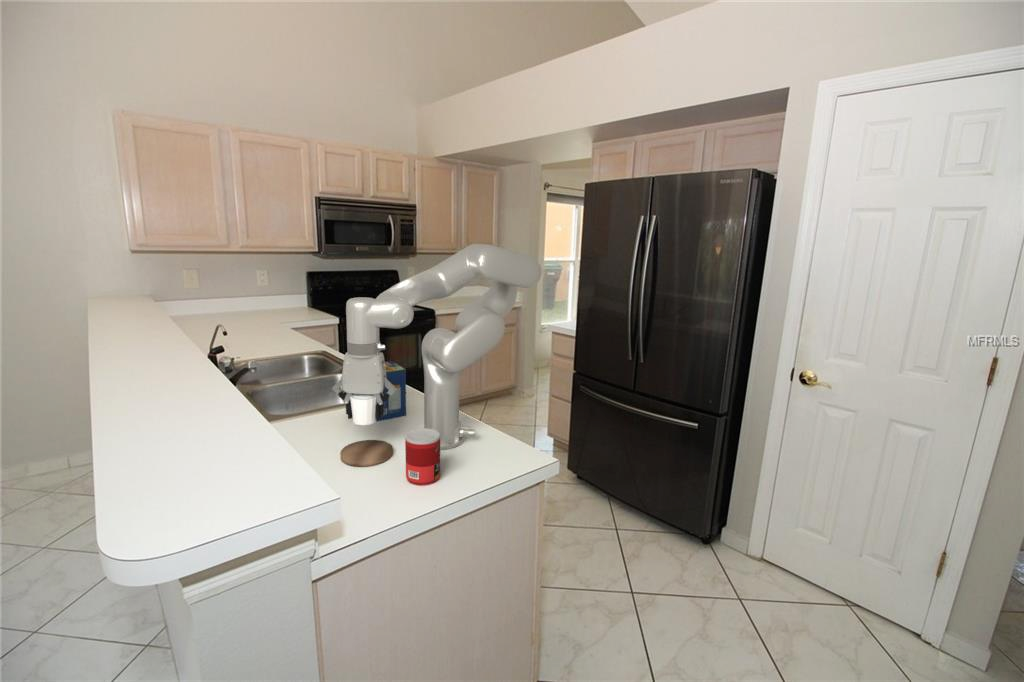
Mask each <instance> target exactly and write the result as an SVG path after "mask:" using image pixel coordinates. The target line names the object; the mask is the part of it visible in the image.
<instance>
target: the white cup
mask: <svg viewBox="0 0 1024 682" xmlns="http://www.w3.org/2000/svg"><path fill="white" fill-rule="evenodd" d="M350 400H351V408H352V416H353V419H352V422H353V424H355V425H357V426H368V425H373V424H375V423H377V422H376V404H377V400H376V397H375V396H374V394H352V396H350Z"/></svg>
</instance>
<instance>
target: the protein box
mask: <svg viewBox="0 0 1024 682" xmlns="http://www.w3.org/2000/svg"><path fill="white" fill-rule="evenodd" d="M385 368H386V378H387V380H388V381H389V382H390V383H391V384H392V385H393V386H394V387H396V391H395V392H394V393H393V394H392V395H391V396H390V397H389V398H388V399H387V400H386V401H385V402H384V403H383V405H384V413H383V415H381V417H380V419H379V420H377V419H376V422H375V423H377V422H382V421H386V420H392V419H398V418H401V417H402V418H403V417H406V416H407V380H406V379H407V378H406V376H407V372H406V371H407V369H406V368H404V367H403V366H401V365H399V364H397V363H396V362H394V361H393V360H388V361H385ZM388 391H389V390H388V389H387V388H385V389H383V392H382V393H383V395H384V394H385V393H387V392H388ZM351 419H352V420H353V417H352V418H351Z"/></svg>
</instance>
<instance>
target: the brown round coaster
mask: <svg viewBox="0 0 1024 682" xmlns="http://www.w3.org/2000/svg"><path fill="white" fill-rule="evenodd" d="M339 454H340V461H341V462H342V463H343V464H344V465H347V466H350V467H354V468H370V467H374V466H378V465H382V464H383V463H386V462H387V461H389V460H390V459H392V457H393V456H394V448H393V445H392V444H391V443H389V442H387V441H384V440H379V439H365V440H359V441H354V442H352V443H349V444H347V445H345V446H344V447H343V448H342V449H341V451H340V453H339Z"/></svg>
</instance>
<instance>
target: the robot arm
mask: <svg viewBox="0 0 1024 682" xmlns="http://www.w3.org/2000/svg"><path fill="white" fill-rule="evenodd" d="M542 274H543V273H542V266H541V264H540V262H539V261H538V260H537V259H536V258H535V257H532V256H529V255H527V254H524V253H519V252H515V251H512V250H509V249H505V248H503V247H499V246H496V245H493V244H484V243H473V244H470V245H468V246H466V247H464V248H462V249H460V250H459V251H458V252H456V253H454V254H453V255H451V256H450V257H448V258H446V259H444V260H442V261H441V262H439V263H437V264H436V265H434V266H432V267H431V268H429V269H426V270H424V271H421V272H420V273H418V274H414V275H413V276H409V277H408V278H406V279H403V280H401V281H400V282H398V283H395V284H394V285H392V286H391V287H389V288H388V289H386V290H384V291H383V292H381V293H379V295H378V296H377V297H376V298H373V297H366V296H365V297H363V296H362V297H360V296H359V297H353V298H352V297H351V298H349V299H348V300H347V301H346V303H345V304H346V306H345V315H346V347H347V348H346V349H347V352H345V354H344V357H343V363H342V372H341V373H342V374H341V375H342V376H341V378H340V380H339V381H337V382H336V383H335V384H334V385H333V386H332V388H331V390H332V391H333V392H334V393H336V395H338V397H339V398H340V399H341V400H342V401H343V403H344V404H345V414H346V415H347V419H348V420H351V419H352V417H353V416H352V408H351V400H350V396H352V394H374V396H375V397H376V400H377V404H376V419H377V420H379V419H380V417H381V415H383V413H384V405H383V403H384V402H385V401H386V400H387V399H388V398H389V397H390V396H391V395H392V394H393V393H394V392H395V391H396V387H394V386H393V385H392V384H391V383H390V382H389V381H388V380H387V378H386V368H385V362H386V361H385V355H384V353H383V352H382V351H386V344H383V343H381V341H380V328H383V329H384V328H386V329H394V330H395V329H397V330H398V329H402V328H405V327H407V326H409V325H410V324H411V323H412V321H413V319H414V315H415V314H414V313H415V312H414V308H413V307H415V306H416V305H418V304H421V303H423V302H427V301H431V300H432V301H433V300H440V299H441V300H442V299H444V298H449V297H450V296H452V295H454V294H455V293H457V292H458V291H460V290H461V289H463V288H464V287H467V286H468V285H470V284H472V282H474V281H476V280H477V279H478V278H485V279H489V280H492V283H491V285H490V286H489V289H487V291H486V292H485V293H483V294H482V295H481V296H479V297H478V298H477V299H476V300H475V301H473V302H472V303H470V304H469V305H468V306H467V307H465V308H464V309H462V311H460V312H459V314H458V315H457V316H456V317H455V322H454V323H455V329H456V330H457V332H454V331H452V330H449V329H448V328H443V327H436V328H435V327H434V328H433V329H430V330H429V331H428V332H427V333H426V334H425V335H424V337H423V339H422V341H421V357H422V359H421V360H422V364H423V375H424V377H423V378H424V379H423V380H424V381H423V382H424V385H423V387H424V388H423V393H424V394H423V395H424V396H423V397H424V398H423V399H424V400H423V401H424V402H423V408H424V410H423V412H424V414H423V415H424V416H423V417H424V421H423V422H424V424H423V425H424V427H423V429H424V428H426V429H433V430H436V431H438V432H439V433H440V450H445V449H446V450H447V449H451V448H455V447H458V446H460V445H462V444H463V443H464V441H465V437H475V436H476V435H475V434H476V430H475V429H473V428H472V427H471V426H463V425H461V423H462V422H461V420H460V386H461V385H460V384H461V383H460V382H461V379H460V373H461V372H464V371H466V370H467V369H469V368H471V366H473V365H474V364H475V363H477V362H478V361H479V360H480V359H482V358H483V357H485V356H486V355H487V353H489V352H490V351H491V350H493V349H494V348H495V347H497V346H498V344H499V343H500V341H501V340H502V339H503V337H504V335H505V329H506V328H505V327H506V324H505V321H504V319H503V318H504V317H506V316H507V315H508V314H509V313H510V312H511V311H512V310H513V309H514V307H515V305H516V304H515V303H516V301H517V296H518V295H517V294H518V289H519V288H522V289H530V288H532V287H534V286H535V285H537V284H538V283H539V282H540V280H541V278H542ZM341 387H342V388H341ZM385 388H387V389H388V390H389V391H388V392H387V393H385V394H384V395H383V393H382V392H383V389H385Z"/></svg>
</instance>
